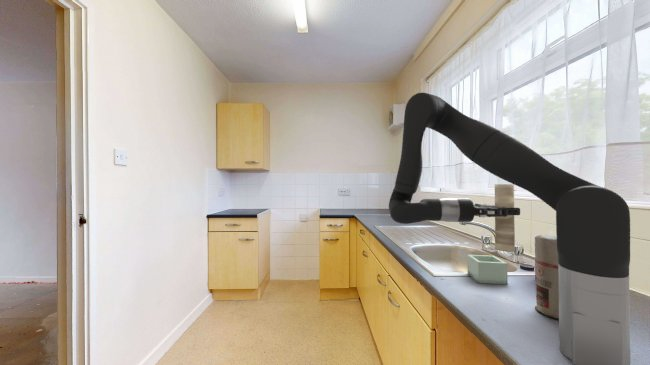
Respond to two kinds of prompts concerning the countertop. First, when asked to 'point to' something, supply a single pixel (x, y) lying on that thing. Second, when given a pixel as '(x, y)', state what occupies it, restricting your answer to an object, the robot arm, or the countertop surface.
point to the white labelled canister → (547, 276)
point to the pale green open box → (487, 269)
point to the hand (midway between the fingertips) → (513, 210)
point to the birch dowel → (504, 218)
